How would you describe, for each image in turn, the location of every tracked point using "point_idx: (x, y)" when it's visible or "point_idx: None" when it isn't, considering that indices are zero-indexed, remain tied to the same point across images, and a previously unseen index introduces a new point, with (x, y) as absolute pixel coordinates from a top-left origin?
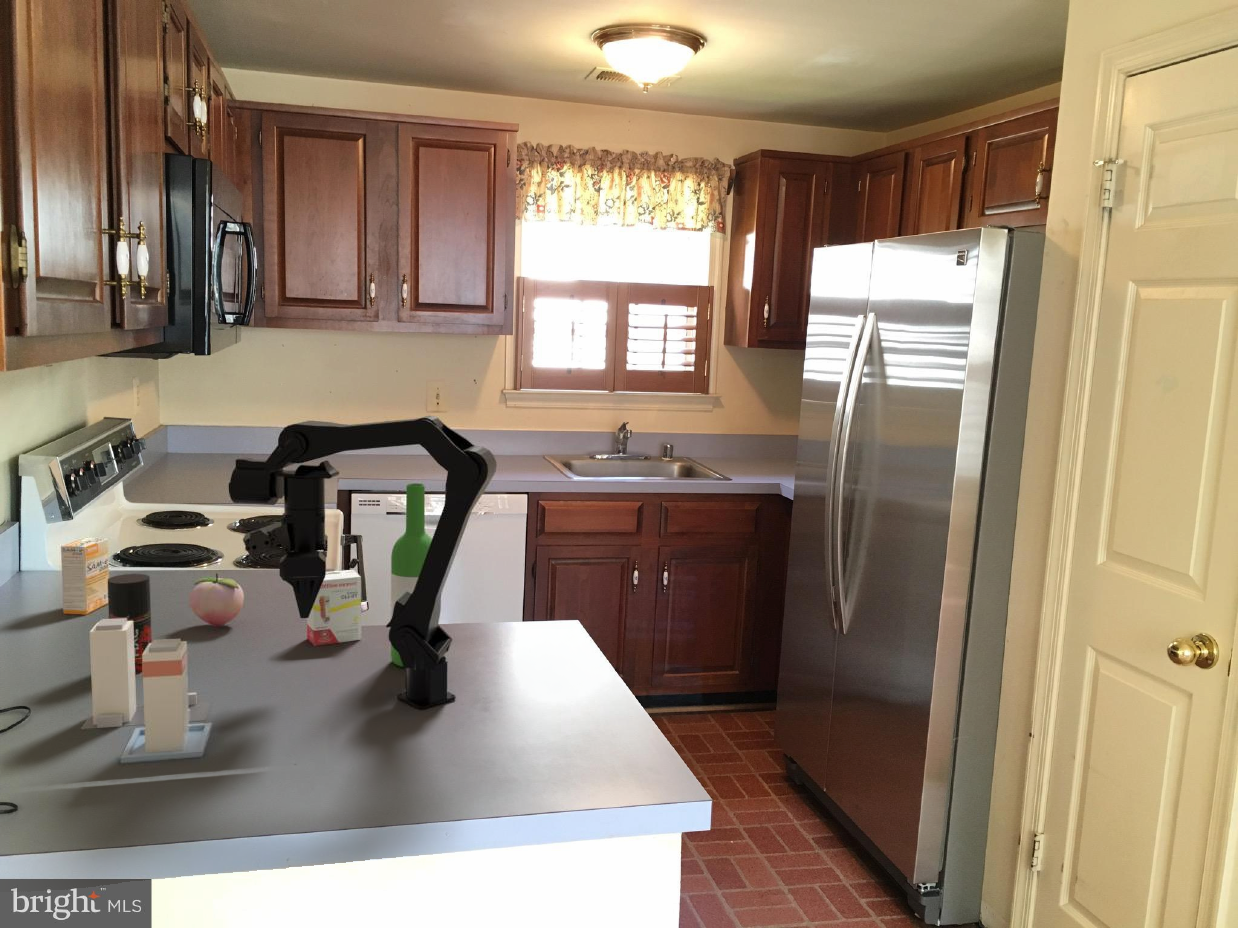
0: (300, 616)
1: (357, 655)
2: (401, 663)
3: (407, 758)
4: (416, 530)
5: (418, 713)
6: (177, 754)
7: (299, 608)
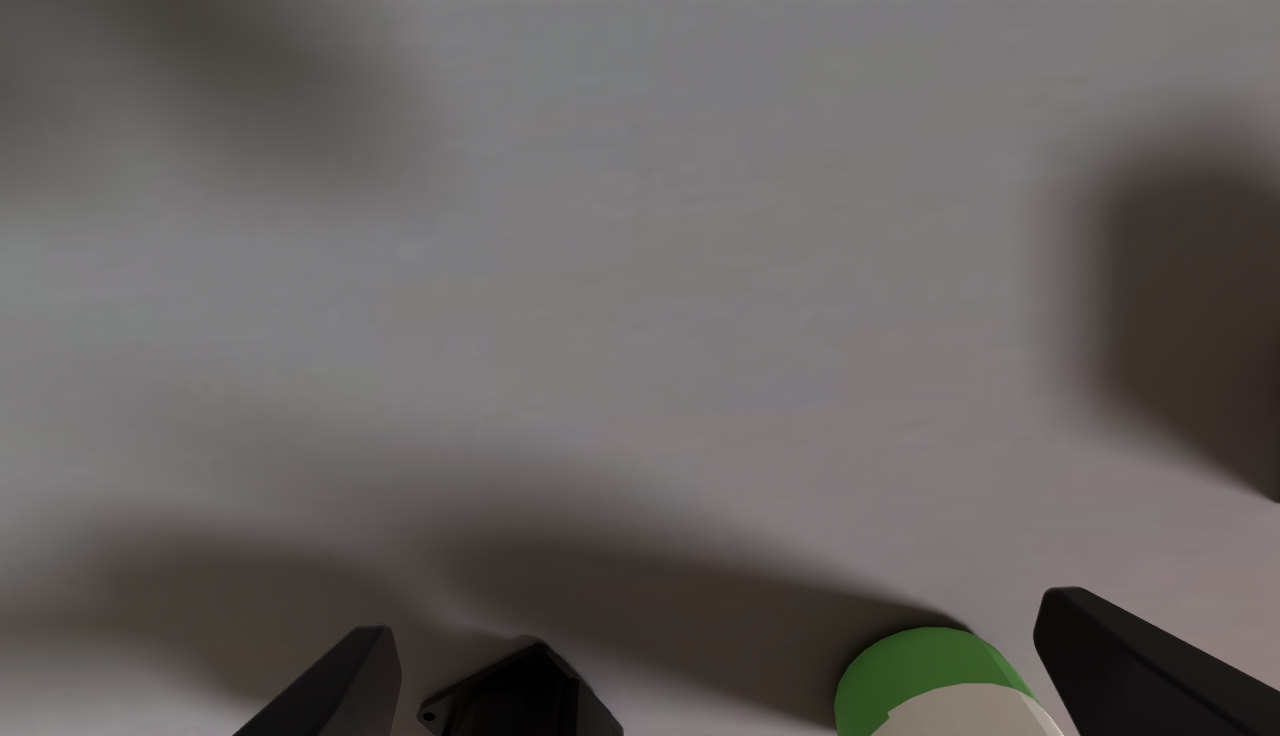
0: (349, 635)
1: (1073, 499)
2: (859, 663)
3: (9, 673)
4: None
5: None
6: None
7: (260, 725)
